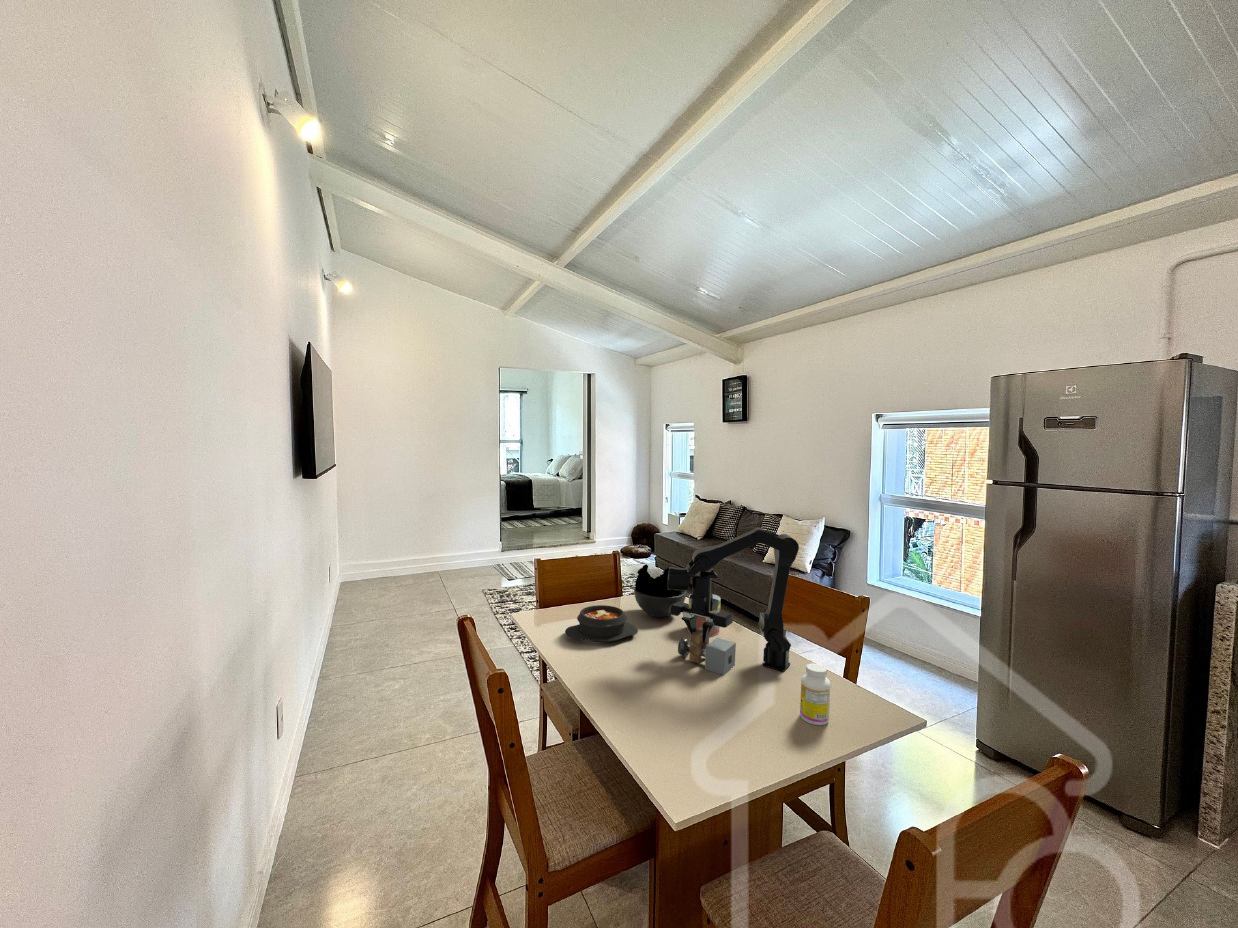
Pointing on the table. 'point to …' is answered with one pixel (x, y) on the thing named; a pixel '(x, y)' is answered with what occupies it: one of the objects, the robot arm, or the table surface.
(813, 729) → the table surface
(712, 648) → the block
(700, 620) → the canned food
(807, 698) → the supplement bottle
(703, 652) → the shaft
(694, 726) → the table surface
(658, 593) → the bowl of black rocks
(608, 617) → the casserole
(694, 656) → the block
